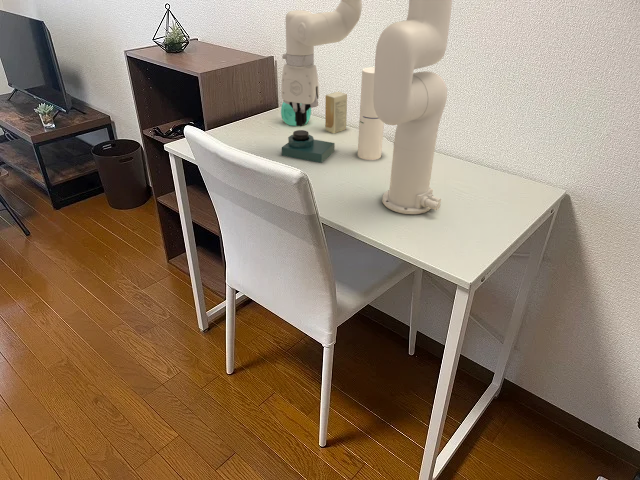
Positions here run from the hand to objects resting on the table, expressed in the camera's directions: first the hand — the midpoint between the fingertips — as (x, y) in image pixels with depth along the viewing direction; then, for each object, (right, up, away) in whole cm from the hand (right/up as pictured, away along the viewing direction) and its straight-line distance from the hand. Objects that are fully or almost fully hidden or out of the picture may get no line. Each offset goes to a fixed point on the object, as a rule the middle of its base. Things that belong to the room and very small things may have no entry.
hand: (301, 124), depth 145 cm
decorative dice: (-3, +7, +28) cm, 29 cm away
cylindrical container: (+21, -9, +3) cm, 23 cm away
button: (0, -4, +3) cm, 5 cm away
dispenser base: (+2, -8, +4) cm, 9 cm away
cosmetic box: (+11, +3, +22) cm, 24 cm away
